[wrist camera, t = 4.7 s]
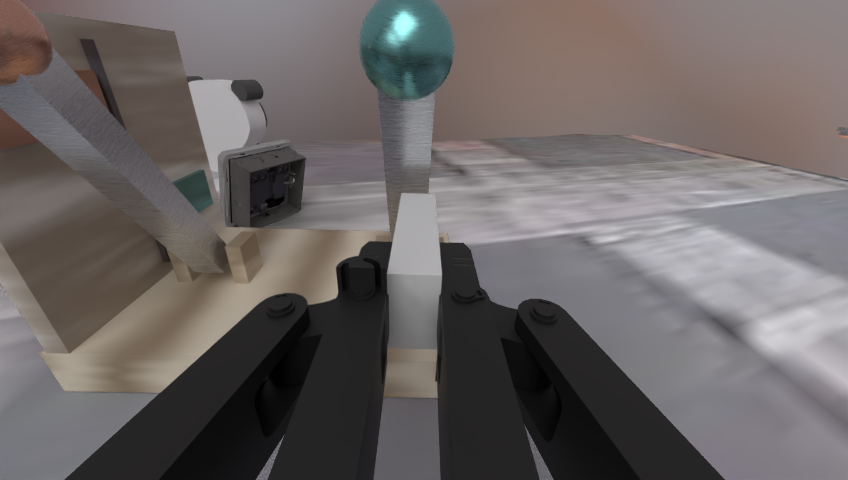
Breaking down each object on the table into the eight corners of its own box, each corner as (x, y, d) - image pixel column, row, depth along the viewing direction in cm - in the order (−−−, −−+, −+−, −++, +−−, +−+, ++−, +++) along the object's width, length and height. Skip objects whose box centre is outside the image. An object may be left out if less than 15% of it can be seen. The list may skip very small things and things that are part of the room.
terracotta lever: (182, 281, 23) (-196, -5, 9) (200, 242, 25) (-92, -51, 10) (229, 282, 23) (-69, 0, 9) (243, 243, 25) (13, -46, 10)
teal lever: (385, 286, 23) (344, 18, 9) (388, 247, 25) (358, -30, 11) (430, 287, 23) (462, 23, 9) (430, 248, 25) (458, -26, 11)
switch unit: (64, 391, 19) (-213, -20, 10) (216, 253, 33) (152, 30, 25) (462, 398, 20) (513, 12, 11) (445, 259, 34) (462, 43, 25)
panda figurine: (291, 175, 57) (277, 79, 51) (246, 197, 48) (221, 80, 41) (231, 168, 60) (209, 75, 53) (176, 188, 50) (140, 76, 43)
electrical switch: (284, 203, 46) (278, 135, 41) (313, 214, 44) (310, 144, 40) (221, 228, 39) (204, 148, 34) (252, 243, 37) (239, 160, 32)
